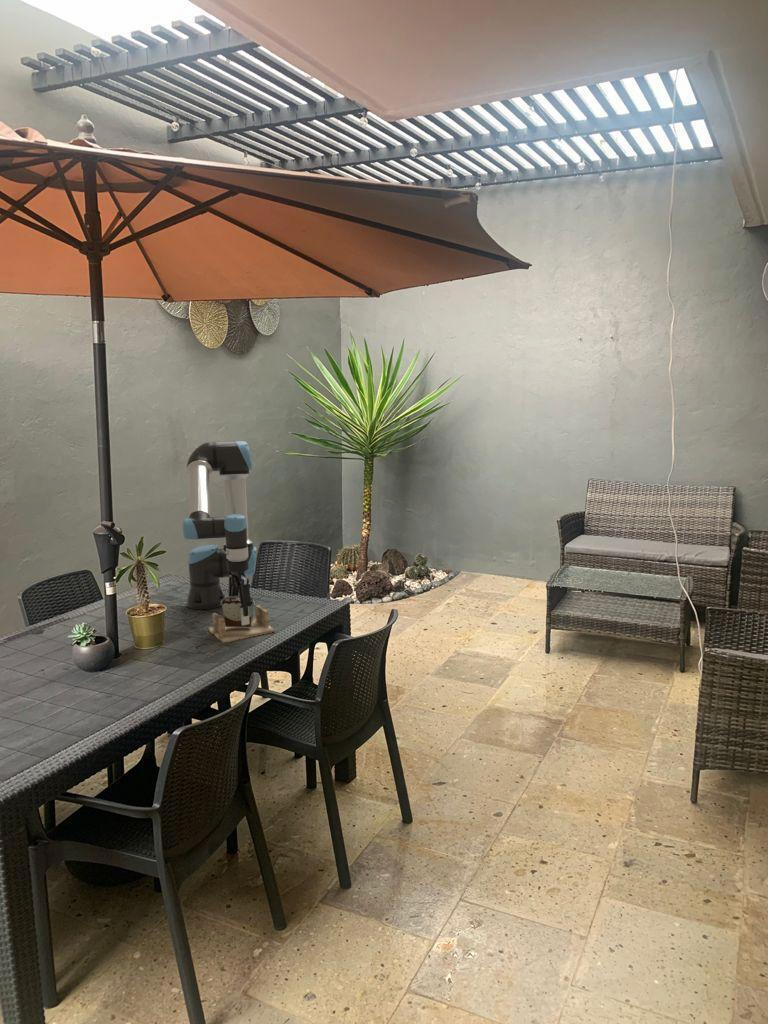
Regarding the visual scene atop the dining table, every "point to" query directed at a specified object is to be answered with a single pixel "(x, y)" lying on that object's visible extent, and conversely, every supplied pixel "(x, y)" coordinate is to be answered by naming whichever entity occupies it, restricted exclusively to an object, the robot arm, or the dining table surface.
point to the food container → (235, 611)
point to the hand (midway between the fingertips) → (240, 620)
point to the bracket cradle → (235, 633)
